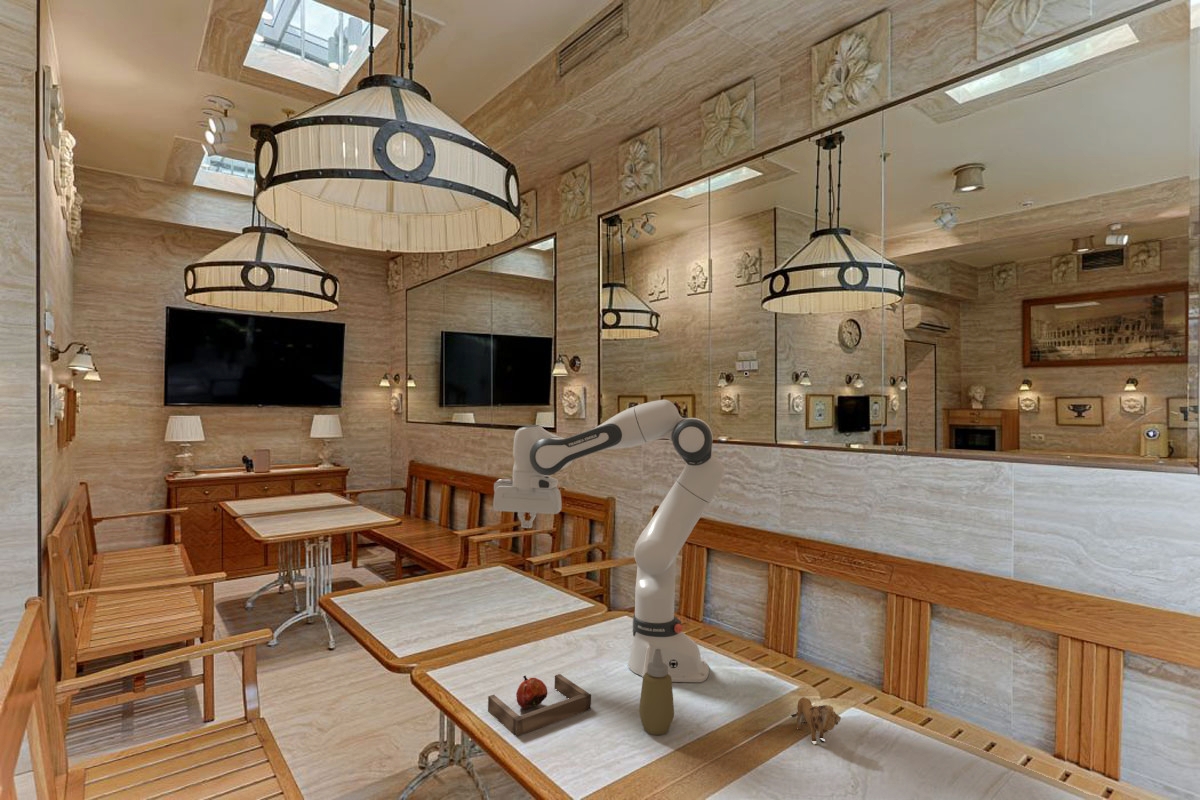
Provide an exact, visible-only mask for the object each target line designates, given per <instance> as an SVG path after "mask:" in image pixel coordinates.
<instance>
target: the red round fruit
mask: <svg viewBox="0 0 1200 800" xmlns="http://www.w3.org/2000/svg"><path fill="white" fill-rule="evenodd" d="M523 679H524V680H523V681H522V682H520V684H519V686H518V688H517V690H516V693H515V694H516V695H515V697H516V702H517V705H518V706H520V707H521V709H524V710H526V709H529V708H532V707H534V709H535V710H538V708H537V706H538V705H541V704H542V703H543V701H544V700H545V699H546V698H547V697H548V688H547V686H546V684H545V683H544V681H542V680H541V679H539V678H537V677H529V678H527V675H524V676H523Z"/></svg>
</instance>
